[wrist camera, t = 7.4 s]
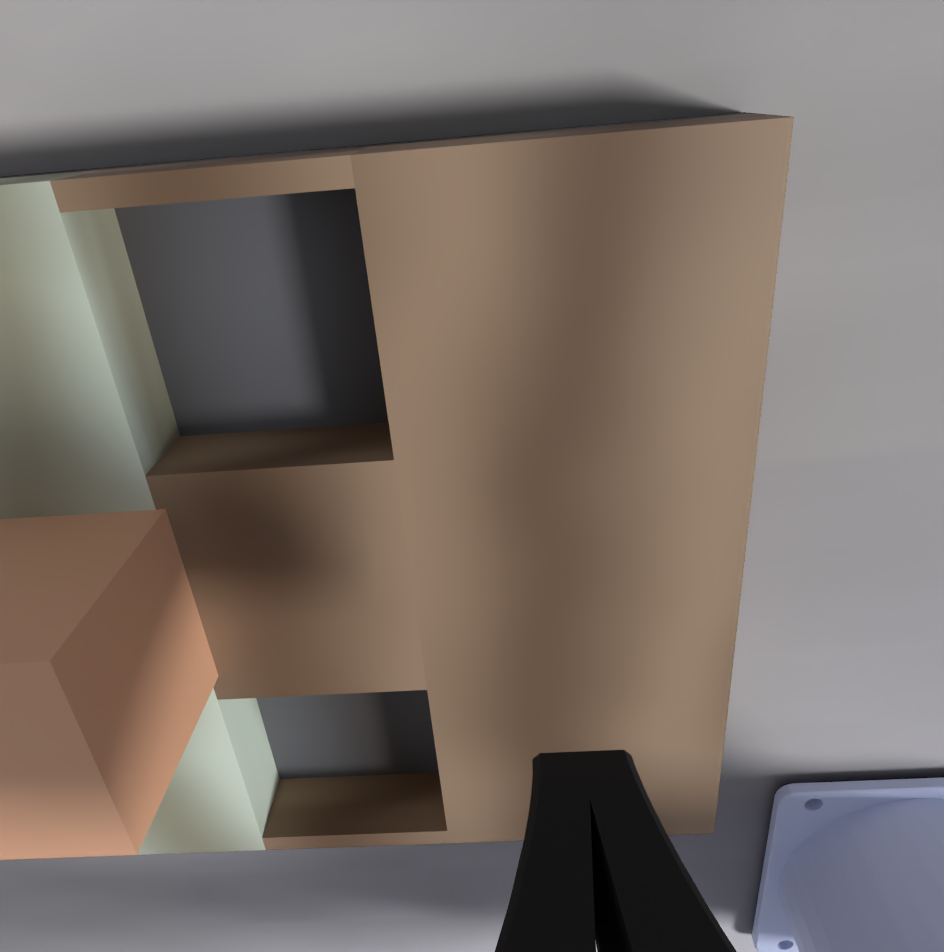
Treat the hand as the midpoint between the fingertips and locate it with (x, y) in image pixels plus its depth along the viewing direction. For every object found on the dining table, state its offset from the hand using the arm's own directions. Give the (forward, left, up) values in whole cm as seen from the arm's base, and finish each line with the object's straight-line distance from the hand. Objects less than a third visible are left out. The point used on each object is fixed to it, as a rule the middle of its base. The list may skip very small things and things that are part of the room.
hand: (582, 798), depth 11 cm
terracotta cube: (+10, 0, -5) cm, 11 cm away
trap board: (+4, 0, -8) cm, 9 cm away
